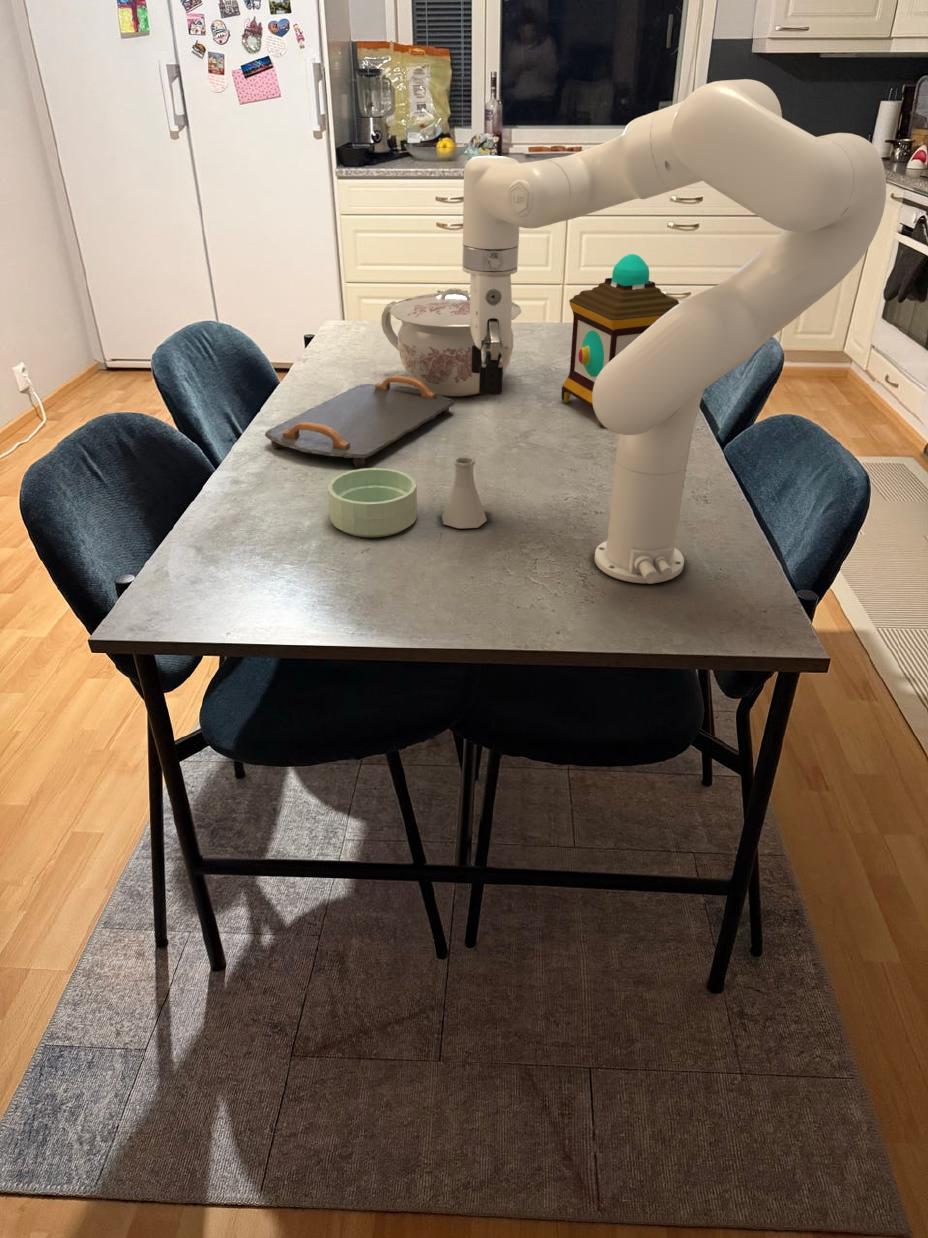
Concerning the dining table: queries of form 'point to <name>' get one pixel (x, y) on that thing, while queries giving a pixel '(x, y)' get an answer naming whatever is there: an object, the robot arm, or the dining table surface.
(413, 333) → the chamber pot
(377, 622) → the dining table surface
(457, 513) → the flask
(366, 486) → the basin
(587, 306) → the decorative lantern
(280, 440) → the serving tray
